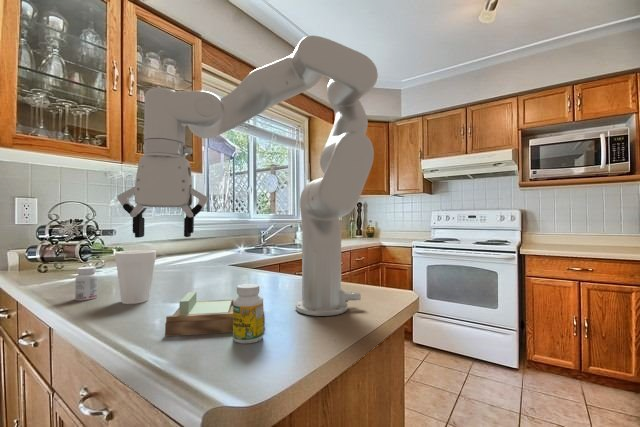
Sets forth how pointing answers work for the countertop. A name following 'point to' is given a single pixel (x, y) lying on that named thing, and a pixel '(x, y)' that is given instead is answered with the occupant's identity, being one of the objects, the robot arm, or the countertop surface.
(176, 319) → the wooden tray
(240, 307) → the supplement bottle
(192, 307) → the cover
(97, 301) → the countertop surface
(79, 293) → the pill bottle
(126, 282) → the foam cup
